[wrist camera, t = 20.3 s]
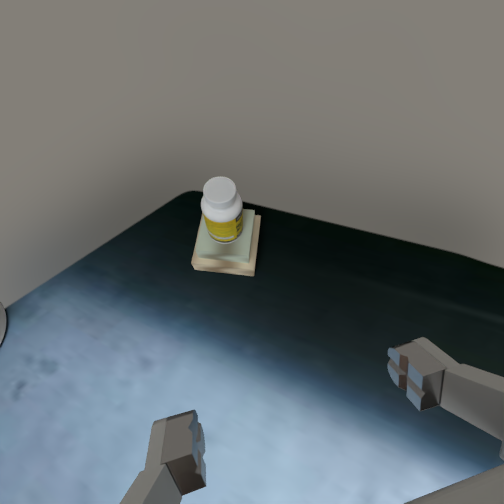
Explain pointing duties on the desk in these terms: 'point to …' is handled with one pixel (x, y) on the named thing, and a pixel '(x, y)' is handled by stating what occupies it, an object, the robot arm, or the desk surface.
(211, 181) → the supplement bottle
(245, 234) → the two-tone square platform
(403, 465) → the desk surface
